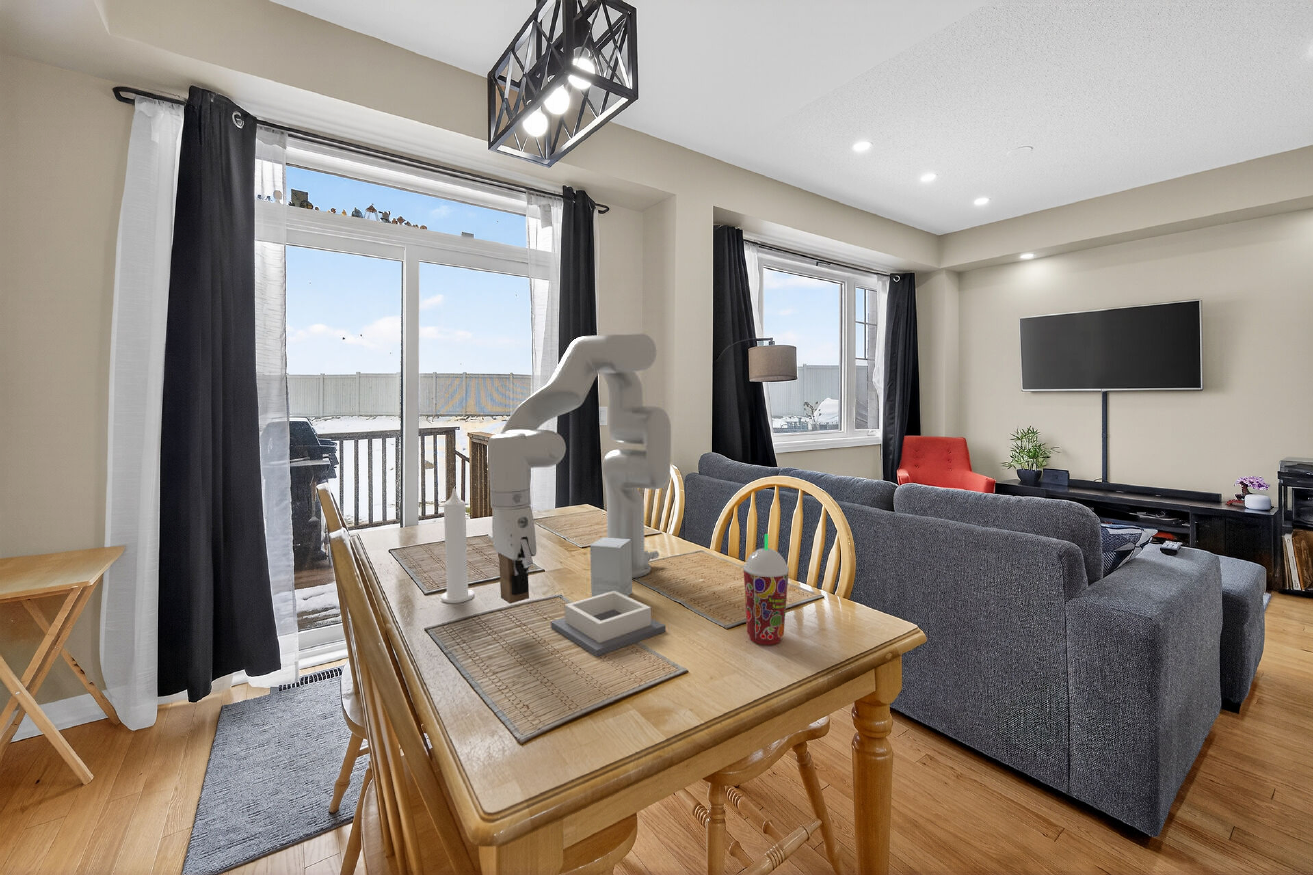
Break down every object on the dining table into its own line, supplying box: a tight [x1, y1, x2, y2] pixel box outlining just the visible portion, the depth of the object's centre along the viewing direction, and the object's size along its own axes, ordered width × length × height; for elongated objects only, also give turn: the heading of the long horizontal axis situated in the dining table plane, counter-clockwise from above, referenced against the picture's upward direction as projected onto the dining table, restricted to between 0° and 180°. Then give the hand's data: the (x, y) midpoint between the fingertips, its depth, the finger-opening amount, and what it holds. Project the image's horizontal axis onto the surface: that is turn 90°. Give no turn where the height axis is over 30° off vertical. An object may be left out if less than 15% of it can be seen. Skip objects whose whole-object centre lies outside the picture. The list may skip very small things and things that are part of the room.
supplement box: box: [589, 536, 633, 597], centre depth 127 cm, size 7×7×13 cm
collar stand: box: [550, 591, 666, 657], centre depth 110 cm, size 16×16×5 cm
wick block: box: [498, 553, 530, 604], centre depth 110 cm, size 4×4×9 cm
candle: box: [440, 488, 475, 604], centre depth 126 cm, size 7×7×25 cm
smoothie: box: [742, 533, 790, 646], centre depth 105 cm, size 8×8×20 cm
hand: (514, 589), depth 110 cm, fingers closed on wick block, 4 cm apart
